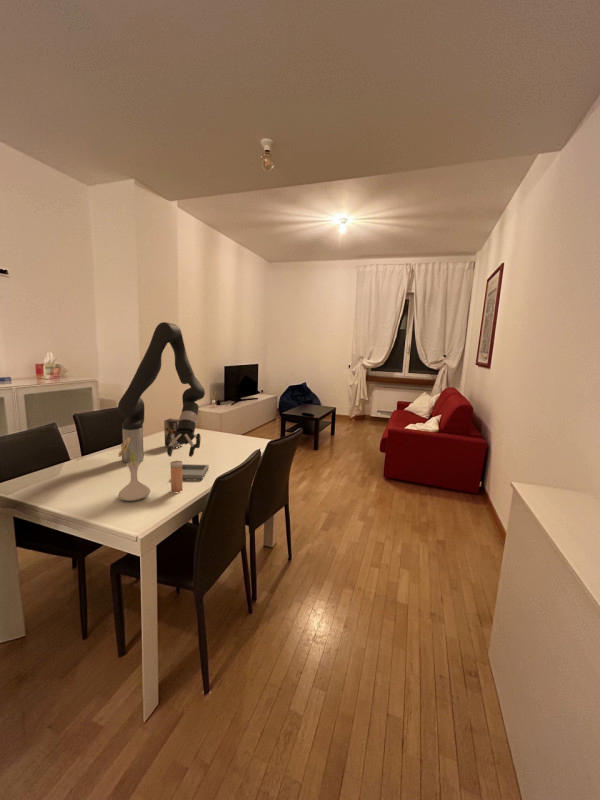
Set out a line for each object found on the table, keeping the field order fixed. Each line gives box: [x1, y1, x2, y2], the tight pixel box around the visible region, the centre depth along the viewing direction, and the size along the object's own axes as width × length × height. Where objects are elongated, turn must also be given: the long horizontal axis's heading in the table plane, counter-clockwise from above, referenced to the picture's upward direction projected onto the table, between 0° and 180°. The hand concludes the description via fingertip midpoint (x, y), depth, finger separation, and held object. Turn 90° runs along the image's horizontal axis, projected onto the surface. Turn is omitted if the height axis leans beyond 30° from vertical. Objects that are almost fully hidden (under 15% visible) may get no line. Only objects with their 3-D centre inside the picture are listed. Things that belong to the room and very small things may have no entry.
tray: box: [182, 463, 210, 481], centre depth 154 cm, size 13×13×2 cm
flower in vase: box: [117, 437, 151, 502], centre depth 126 cm, size 13×11×25 cm
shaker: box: [169, 460, 183, 493], centre depth 135 cm, size 5×5×12 cm
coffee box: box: [163, 418, 183, 447], centre depth 194 cm, size 9×6×16 cm
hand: (179, 455), depth 138 cm, fingers open, 8 cm apart
